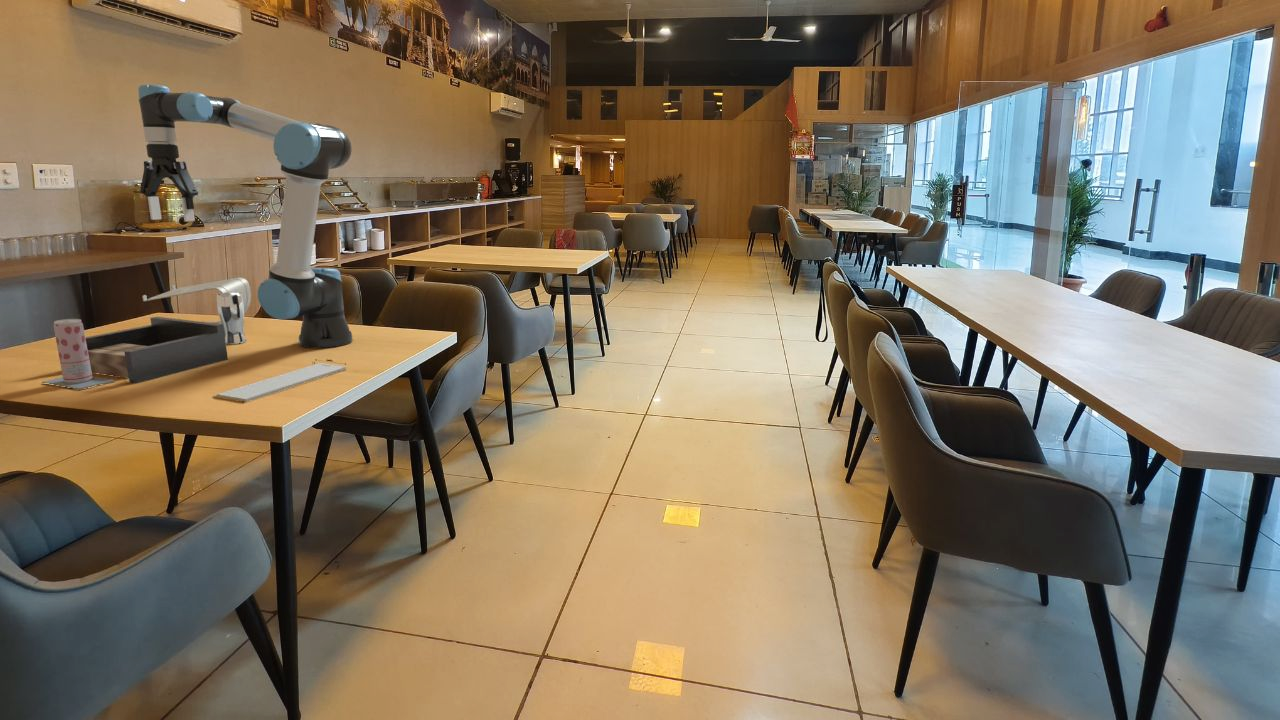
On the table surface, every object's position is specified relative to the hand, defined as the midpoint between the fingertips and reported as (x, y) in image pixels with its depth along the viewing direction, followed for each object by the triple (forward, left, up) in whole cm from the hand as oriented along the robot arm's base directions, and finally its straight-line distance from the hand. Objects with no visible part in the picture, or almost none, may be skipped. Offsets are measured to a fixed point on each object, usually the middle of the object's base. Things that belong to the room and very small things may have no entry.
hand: (172, 220), depth 210 cm
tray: (-13, +21, -37) cm, 44 cm away
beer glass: (-10, -7, -37) cm, 39 cm away
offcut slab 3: (-13, +25, -37) cm, 46 cm away
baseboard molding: (-57, +20, -38) cm, 71 cm away
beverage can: (-13, +40, -36) cm, 56 cm away
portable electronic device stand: (+15, -16, -37) cm, 43 cm away
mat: (-13, +40, -37) cm, 56 cm away
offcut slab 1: (-13, +28, -37) cm, 48 cm away
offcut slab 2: (-13, +31, -37) cm, 50 cm away
